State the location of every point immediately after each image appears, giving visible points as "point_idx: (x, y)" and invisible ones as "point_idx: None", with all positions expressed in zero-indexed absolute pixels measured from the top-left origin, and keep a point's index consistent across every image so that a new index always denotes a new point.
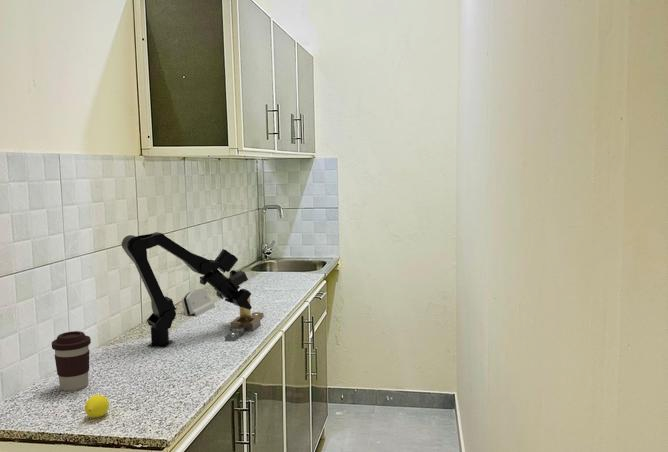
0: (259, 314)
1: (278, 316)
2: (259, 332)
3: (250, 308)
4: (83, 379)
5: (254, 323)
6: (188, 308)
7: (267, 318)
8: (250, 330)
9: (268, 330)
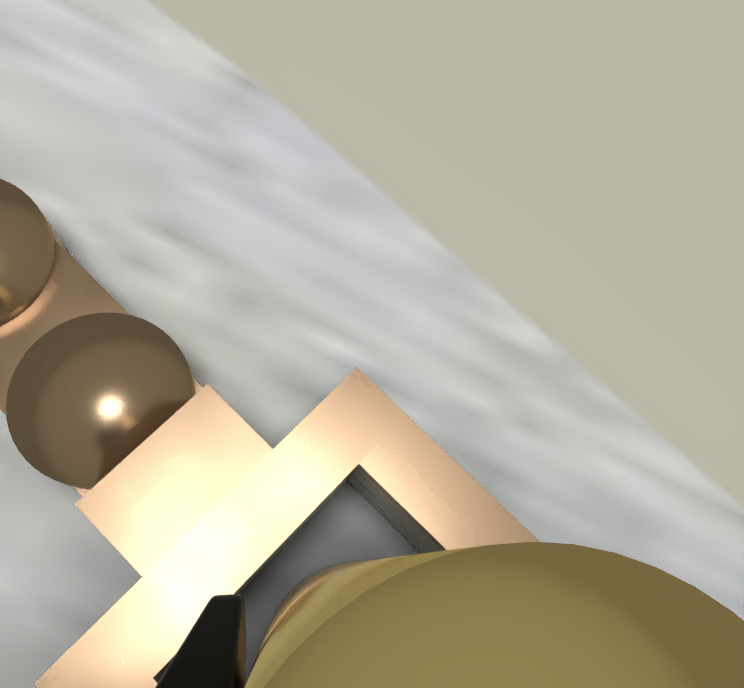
0: (49, 243)
1: (118, 30)
2: (681, 578)
3: None
4: None
5: None
6: None
7: (102, 172)
8: None
9: (649, 431)
